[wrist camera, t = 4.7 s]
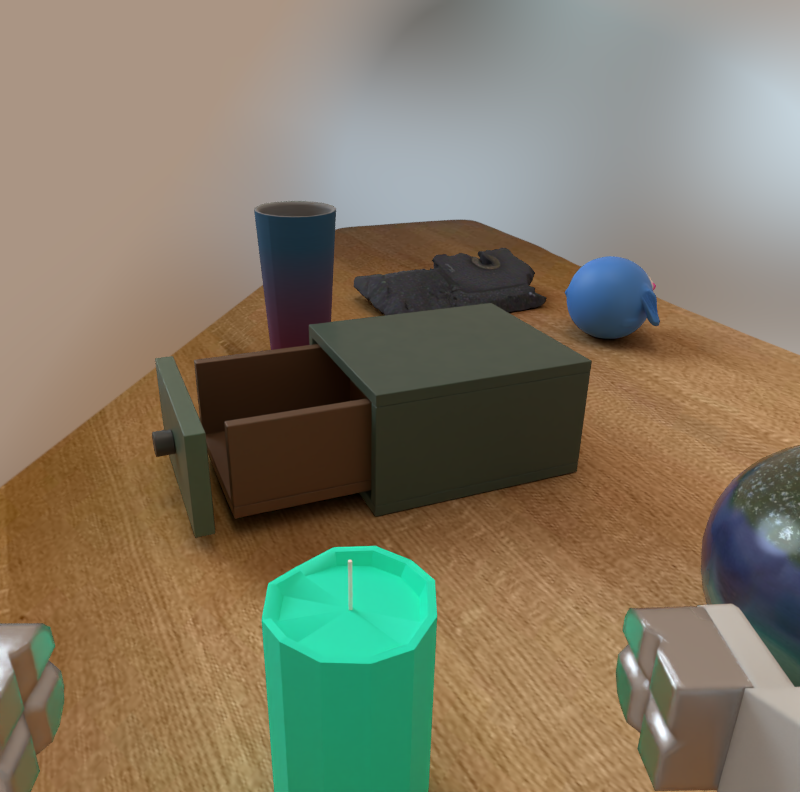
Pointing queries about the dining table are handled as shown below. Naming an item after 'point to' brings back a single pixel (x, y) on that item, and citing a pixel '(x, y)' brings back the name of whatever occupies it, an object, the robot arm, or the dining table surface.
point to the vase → (760, 553)
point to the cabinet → (460, 401)
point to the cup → (296, 267)
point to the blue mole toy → (611, 298)
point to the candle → (350, 673)
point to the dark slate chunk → (455, 284)
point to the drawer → (264, 431)
